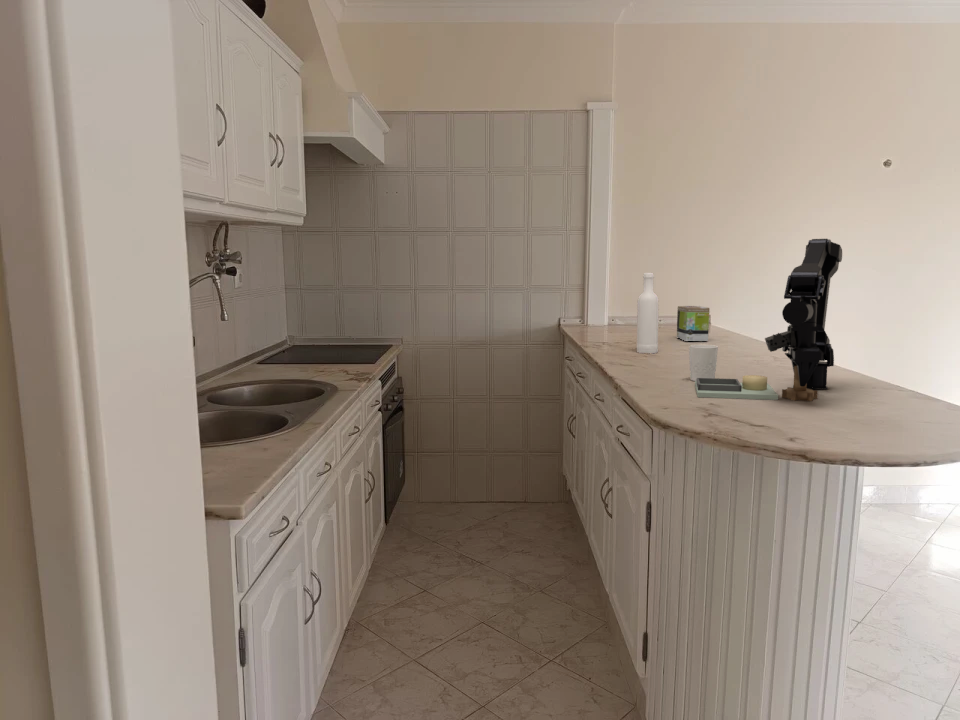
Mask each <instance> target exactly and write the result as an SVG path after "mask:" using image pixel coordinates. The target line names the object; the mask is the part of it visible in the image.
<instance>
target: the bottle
mask: <svg viewBox="0 0 960 720" xmlns="http://www.w3.org/2000/svg"><path fill="white" fill-rule="evenodd" d="M642 277H643V291H642V292H641V294H640V295H639V296H638V299H637V305H636V306H637V308H636V309H637V312H636V313H637V314H636V324H637V325H636V352H637V353H638V352H639V354H644V353H652V354H657V353H658V351H659V310H660V309H659V306H660V305H659V302H660V300H659V297H658V295H657V294H656V293H655V292H654V278H655V277H654V273H653V272H644V273H643V276H642Z"/></svg>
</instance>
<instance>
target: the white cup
mask: <svg viewBox="0 0 960 720" xmlns="http://www.w3.org/2000/svg"><path fill="white" fill-rule="evenodd" d="M718 348H719V346H718V345H714V344H691V345H689V347H688V350H689V351H688V355H689V357H688V358H689V372H690V375H689V377H690V378H689V379H690V380H691V381H693V382H695V381H697V378H716V371H717V363H718V351H719V349H718Z"/></svg>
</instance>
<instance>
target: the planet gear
mask: <svg viewBox="0 0 960 720" xmlns="http://www.w3.org/2000/svg"><path fill="white" fill-rule="evenodd" d="M818 393H819V392H818V389H808V388H807V383H806V385H805V386H800V383H799V376H798V368H797V366H794V372H793V387H790V386H789V387H787V388H784V389H781V397H782V399H788V400H790V401H804V402H805V401H808V402H813V400H818Z"/></svg>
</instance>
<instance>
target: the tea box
mask: <svg viewBox="0 0 960 720" xmlns="http://www.w3.org/2000/svg"><path fill="white" fill-rule="evenodd" d="M676 314H677V319H676V321H677V322H676V338H677V337H678V338H680V339H682V340H681V341H683V340H684V341H683V342H685V341H708V342H709V330H710V329H709V326H710V325H709V324H710V307H707V306H700V305H679V306H677V313H676ZM680 339H679V340H680Z"/></svg>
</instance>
